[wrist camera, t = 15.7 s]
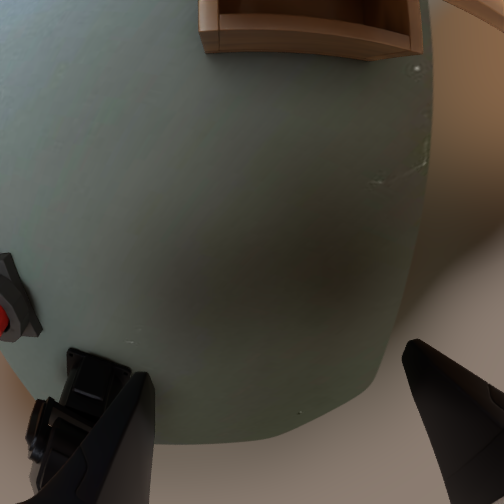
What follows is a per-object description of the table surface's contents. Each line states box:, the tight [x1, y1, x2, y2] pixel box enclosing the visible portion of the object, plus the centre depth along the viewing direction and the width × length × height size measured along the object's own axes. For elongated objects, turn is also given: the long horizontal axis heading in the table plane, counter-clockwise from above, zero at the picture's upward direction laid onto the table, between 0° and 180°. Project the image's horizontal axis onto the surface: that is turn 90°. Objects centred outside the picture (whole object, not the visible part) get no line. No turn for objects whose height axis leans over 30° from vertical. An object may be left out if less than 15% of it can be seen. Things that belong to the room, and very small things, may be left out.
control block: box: [0, 253, 42, 342], centre depth 19 cm, size 8×6×3 cm
